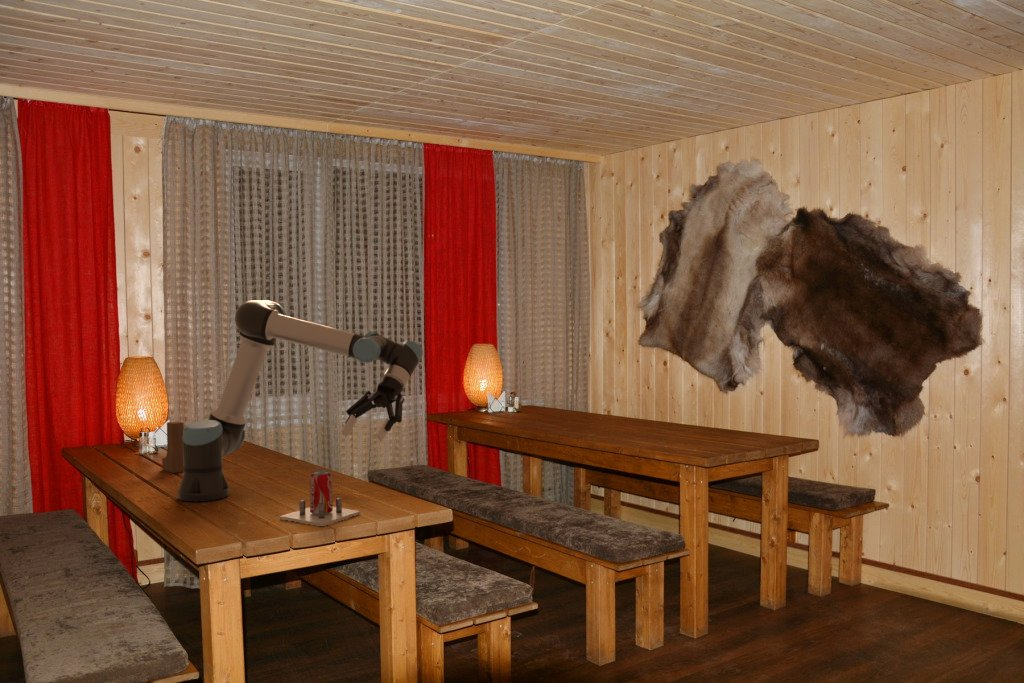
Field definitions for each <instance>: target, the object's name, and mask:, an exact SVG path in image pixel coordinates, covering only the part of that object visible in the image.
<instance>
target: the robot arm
mask: <svg viewBox="0 0 1024 683" xmlns="http://www.w3.org/2000/svg"><path fill="white" fill-rule="evenodd" d="M234 323H235V325H236V327H237V329H238V331H239V333H238V335H239V337H240V340H241V342H240V344H239V347H238V350H237V353H236V357H235V358H234V362H233V364H232V367H231V370H230V373H229V375H228V378H227V381H226V383H225V386H224V389H223V392H222V395H221V397H220V401H219V404H218V407H217V408H215V409H213V410H211V411H210V415H209V417H208V419H203V420H202V419H201V420H197V421H193V422H190V423H188V424H186V425H184V429H183V436H182V439H183V466H184V472H183V474H182V477H181V481H180V484H179V487H178V491H177V499H178V500H179V499H180V500H179V501H182V500H183V501H182V502H188V501H193V502H192V503H197V502H198V501H202V502H210V501H209V500H212V501H217V500H216V499H218V500H221V499H220V498H222V499H224V497H225V498H227V497H228V496H229V495H230V487H229V485H228V482H227V480H226V476H225V474H224V468H223V464H224V463H223V461H224V460H223V457H225V456H228V455H231V454H233V453H236V451H237V450H238V449H240V448H241V446H242V445H243V444H244V441H245V439H246V430H245V427H246V423H247V419H246V417H245V413H246V411H247V410H246V409H247V407H248V404H249V401H250V400H251V396H252V393H253V391H254V387H255V385H256V382H257V380H258V376H259V374H260V371H261V369H262V367H263V363H264V360H265V357H266V354H267V351H268V349H270V348H272V347H274V346H275V344H276V340H281V341H284V342H285V341H286V342H290V343H294V344H297V345H301V346H305V347H310V348H313V349H316V350H321V351H325V352H328V353H333V354H337V355H341V356H345V357H349V358H352V359H356V360H357V361H359V362H361V363H367V364H368V363H372V362H374V361H377V360H378V361H380V362H382V363H385V364H386V365H389V366H388V367H387V369H386V371H385V372H384V374H383V377H381V379H380V380H379V383H378V384H377V388H376V391H375V392H371V391H370V390H367V391H366V392H364V395H363V396H361V398H359V399H358V400H357V401H355V403H354V404H352V405H351V406H350V407H349V408H348V409H346V410H345V411H346V412H345V413H346V414H347V415H348V417H347V419H346V420H345V422H344V423H345V424H344V426H343V428H342V429H341V433H342V434H343V436H344V437H347V438H348V437H349V435H350V433H351V432H352V430H353V428H354V427H355V424H357V422H358V419H359V417H362V416H363V415H364V414H365V413H367V412H369V411H370V410H372V409H376V408H383V409H385V408H386V412H387V418H384V419H385V420H384V422H383V423H382V424H381V427H380V428H379V430H378V431H377V433H376V437H377V438H378V440H379V442H383V441H384V439H385V437H386V435H387V433H388V432H390V431H391V429H392V428H393V426H394V425H395V424H396V423H399V424H400V423H402V421H403V420H402V419H403V418H402V417H403V405H404V403H405V397H404V396H403V394H402V392H403V390H404V388H405V387H406V385H407V383H408V381H409V380H410V378H411V376H412V375H413V373H414V371H415V370H416V369H417V367H418V365H419V364H420V361H421V358H422V356H423V354H424V352H423V349H422V347H421V346H420V344H418V343H417V342H415V341H413V340H405V341H404V342H402V343H398V342H396V341H394V340H391V339H389V338H387V337H385V336H383V335H380V333H378V332H374V331H371V330H367V331H365V333H364V334H358V333H355V332H350V331H347V330H343V329H339V328H335V327H332V326H331V327H330V326H328V325H323V324H320V323H319V324H318V323H316V322H311V321H307V320H305V319H304V320H302V319H300V318H295V317H293V316H288V315H287V314H286V311H285V309H284V308H283V306H281V304H279V303H277V302H276V301H274V300H273V301H272V300H269V299H262V300H259V299H258V300H255V299H253V300H252V299H251V300H248V301H246V302H243V303H242V304H241V305H240V306H238V308H237V310H236V312H235V315H234ZM393 403H395V406H393ZM226 496H227V497H226ZM198 503H199V502H198Z"/></svg>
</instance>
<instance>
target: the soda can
mask: <svg viewBox="0 0 1024 683" xmlns="http://www.w3.org/2000/svg"><path fill="white" fill-rule="evenodd" d="M319 503H324V504H325V515H328V514H330V513H331V512H332V511H333V507H334V506H333V505H334V504H333V475H332V474H331V471H330V470H315V471H312V472H311V473H310V476H309V507H310V512H311V513H312V514H313V515H317V516H319Z"/></svg>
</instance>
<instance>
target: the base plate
mask: <svg viewBox="0 0 1024 683" xmlns="http://www.w3.org/2000/svg"><path fill="white" fill-rule="evenodd" d="M360 513H361V514H362V510H357V509H350V508H344V507H342V513H336V506H333V511H332V512H331V513H330V514H328V515H325V518H323V519H320V518H319V516H317V515H313V514H312V513H311V512H310V506H309V507H305V515H300V509H299V510H296V511H292V512H290V513H286V514H283V515H282V514H281V515H280V516H279V520H280V519H282V520H281V521H285V520H288V521H287V522H291V521H294V522H293V523H296V522H300V523H299V524H302V523H305V524H304V525H308V524H310V525H309V526H314V525H316V526H315V527H319V526H325V527H327V526H326V525H328V526H330V525H329V524H331V523H334V524H336V523H335V522H337V523H339V522H338V521H340V522H342V521H341V520H343V521H345V520H344V519H346V520H348V519H347V518H349V517H352V516H354V515H357V514H360ZM352 518H353V517H352ZM349 519H350V518H349ZM331 525H332V524H331Z"/></svg>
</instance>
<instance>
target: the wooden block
mask: <svg viewBox="0 0 1024 683" xmlns="http://www.w3.org/2000/svg"><path fill="white" fill-rule="evenodd" d="M184 427H185V424H184V422H182V421H179V420H176V421H168V422H166V442H167V445H166V446H167V447H166V449H167V450H166V456H165V457H162V459H161V462H162V463H161V464H162V467H161V468H162V469H161V470H163V471H164V472H169V473H171V474H177V472H179V473H184V466H183V439H182V436H183V429H184Z"/></svg>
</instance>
